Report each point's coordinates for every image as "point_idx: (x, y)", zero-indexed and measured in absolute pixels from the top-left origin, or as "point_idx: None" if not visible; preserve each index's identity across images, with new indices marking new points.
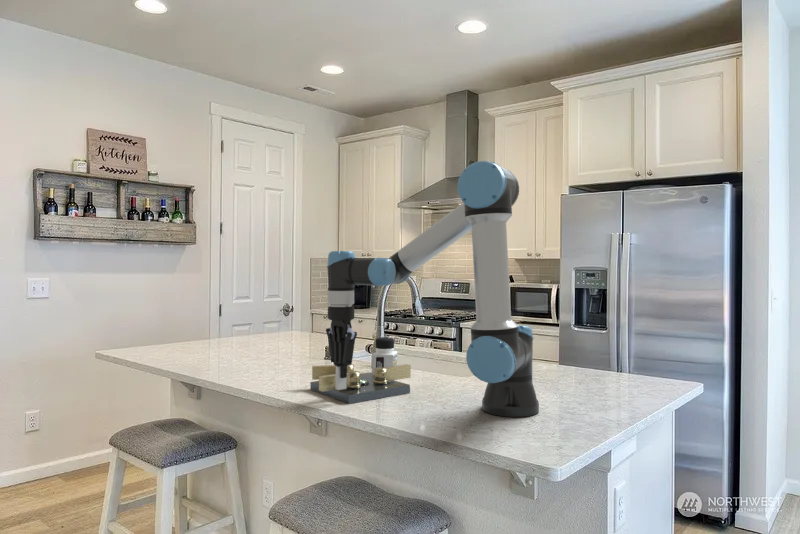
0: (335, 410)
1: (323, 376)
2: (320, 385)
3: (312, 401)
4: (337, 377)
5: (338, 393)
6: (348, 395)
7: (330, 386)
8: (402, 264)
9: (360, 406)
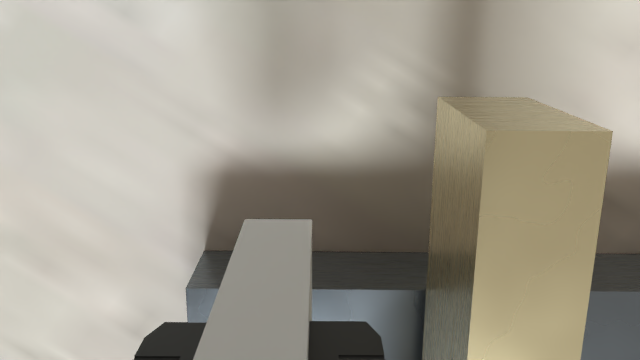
0: (58, 18)
1: (549, 189)
2: (511, 108)
3: (527, 22)
4: (246, 287)
5: (400, 280)
6: (195, 286)
7: (440, 224)
8: None
9: (67, 284)
